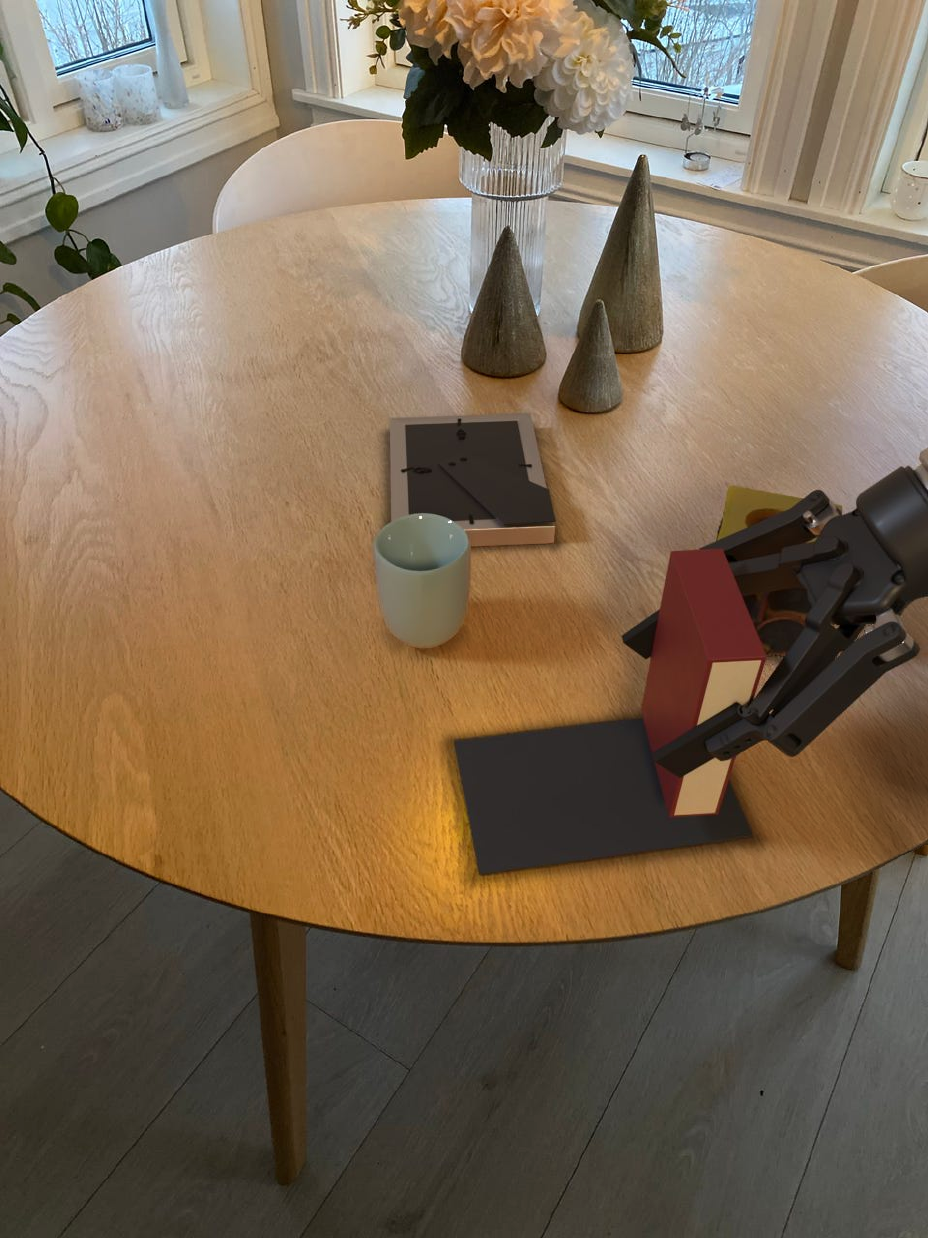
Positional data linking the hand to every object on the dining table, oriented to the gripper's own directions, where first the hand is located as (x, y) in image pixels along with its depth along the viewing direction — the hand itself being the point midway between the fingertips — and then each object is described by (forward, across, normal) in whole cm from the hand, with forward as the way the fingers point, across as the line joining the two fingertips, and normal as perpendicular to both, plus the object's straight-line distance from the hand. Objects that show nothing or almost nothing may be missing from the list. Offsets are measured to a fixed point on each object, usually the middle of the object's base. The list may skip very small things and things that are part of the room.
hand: (648, 703), depth 66 cm
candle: (-4, +18, -17) cm, 25 cm away
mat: (+9, 0, -5) cm, 10 cm away
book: (+3, 0, -7) cm, 7 cm away
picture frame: (+14, +40, 0) cm, 42 cm away
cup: (+17, +18, +4) cm, 25 cm away
